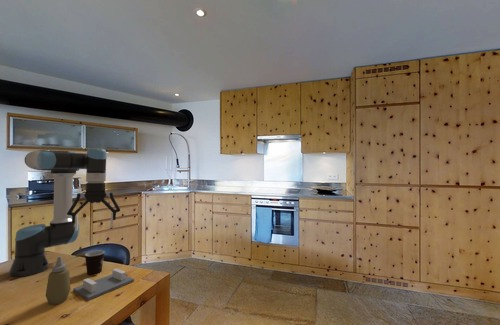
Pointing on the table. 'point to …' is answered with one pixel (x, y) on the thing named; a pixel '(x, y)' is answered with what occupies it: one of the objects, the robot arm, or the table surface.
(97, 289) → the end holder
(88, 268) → the coffee mug
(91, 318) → the table surface
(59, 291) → the squeeze bottle
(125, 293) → the table surface
